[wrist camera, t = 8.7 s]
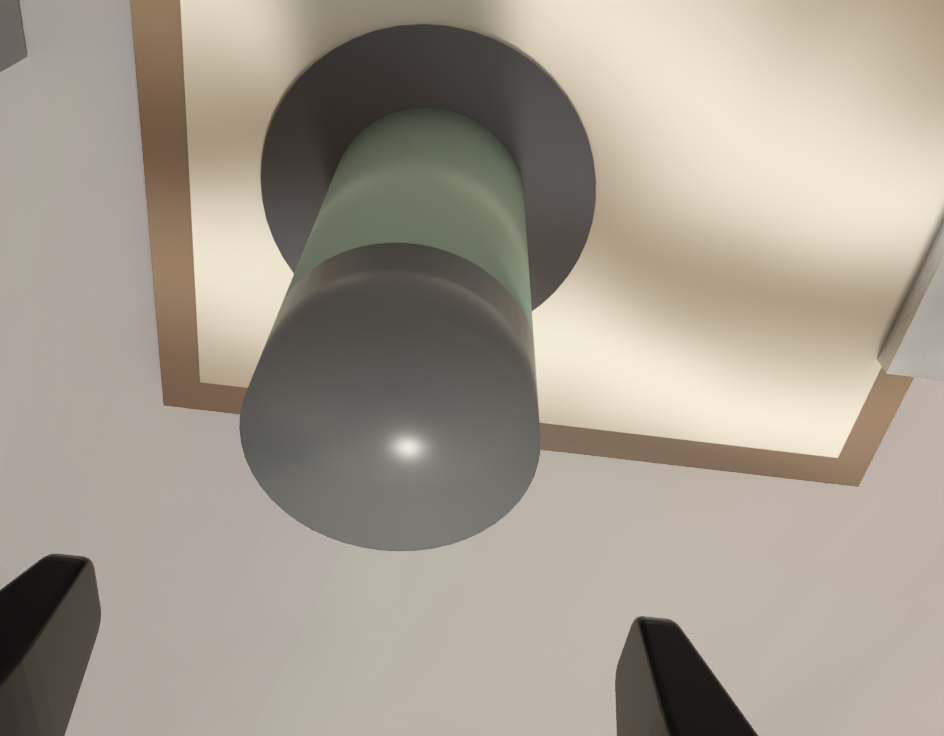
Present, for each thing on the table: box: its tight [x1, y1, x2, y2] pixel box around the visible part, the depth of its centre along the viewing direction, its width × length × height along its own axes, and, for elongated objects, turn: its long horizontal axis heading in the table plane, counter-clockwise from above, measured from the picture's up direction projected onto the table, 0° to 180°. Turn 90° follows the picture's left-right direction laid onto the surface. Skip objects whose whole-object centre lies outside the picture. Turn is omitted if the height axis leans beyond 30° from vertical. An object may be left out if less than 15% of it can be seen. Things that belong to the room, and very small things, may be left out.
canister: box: [240, 107, 541, 551], centre depth 15 cm, size 4×4×8 cm
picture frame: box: [130, 0, 944, 487], centre depth 19 cm, size 13×18×2 cm
